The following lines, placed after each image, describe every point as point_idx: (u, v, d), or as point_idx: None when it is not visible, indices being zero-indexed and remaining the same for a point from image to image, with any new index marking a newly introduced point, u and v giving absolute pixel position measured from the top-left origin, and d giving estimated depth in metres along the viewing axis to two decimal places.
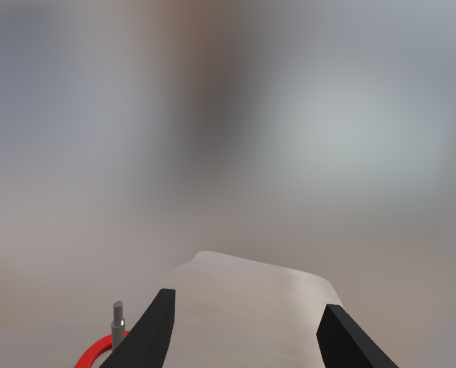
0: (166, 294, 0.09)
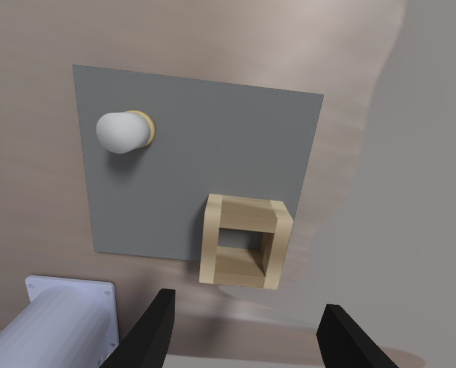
0: (166, 294, 0.09)
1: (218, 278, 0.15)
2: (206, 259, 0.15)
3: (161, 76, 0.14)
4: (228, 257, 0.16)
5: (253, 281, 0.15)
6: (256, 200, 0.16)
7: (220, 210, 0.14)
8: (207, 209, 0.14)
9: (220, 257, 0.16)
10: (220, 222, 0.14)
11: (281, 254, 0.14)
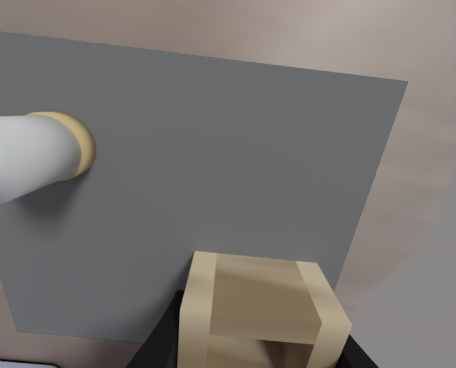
0: (183, 295, 0.09)
1: None
2: None
3: (96, 46, 0.07)
4: (226, 355, 0.10)
5: None
6: (274, 262, 0.09)
7: (211, 302, 0.07)
8: (186, 301, 0.07)
9: (213, 355, 0.10)
10: (211, 327, 0.07)
11: None
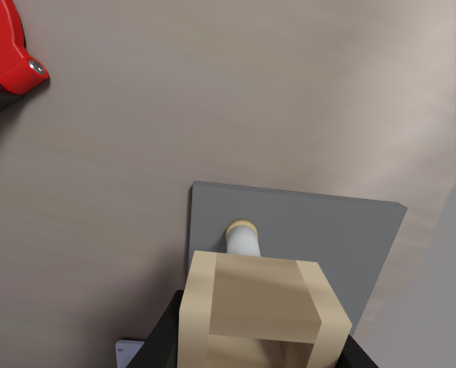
0: None
1: None
2: None
3: (268, 194, 0.16)
4: (226, 354, 0.10)
5: None
6: (274, 261, 0.09)
7: (210, 301, 0.07)
8: (185, 300, 0.07)
9: (213, 354, 0.10)
10: (210, 327, 0.07)
11: None
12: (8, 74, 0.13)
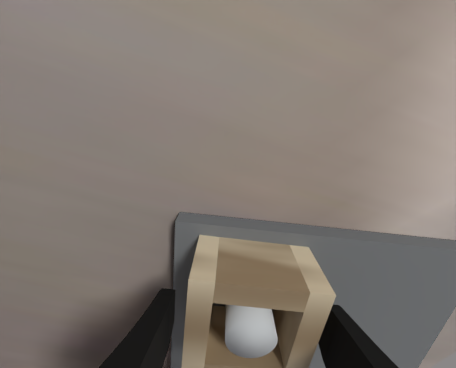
0: (167, 294, 0.09)
1: None
2: (191, 347, 0.09)
3: (286, 234, 0.11)
4: None
5: None
6: (270, 245, 0.11)
7: (214, 274, 0.08)
8: (193, 273, 0.08)
9: (215, 328, 0.11)
10: (214, 296, 0.08)
11: (312, 342, 0.09)
12: None
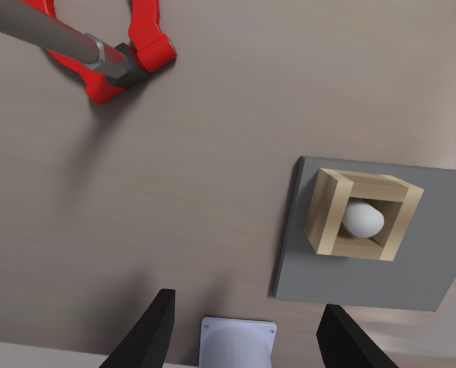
0: (167, 294, 0.09)
1: (337, 249, 0.15)
2: (329, 230, 0.15)
3: (377, 166, 0.16)
4: None
5: (371, 253, 0.15)
6: (367, 173, 0.16)
7: (349, 180, 0.14)
8: (337, 179, 0.14)
9: None
10: (351, 191, 0.14)
11: (405, 224, 0.15)
12: (148, 51, 0.14)
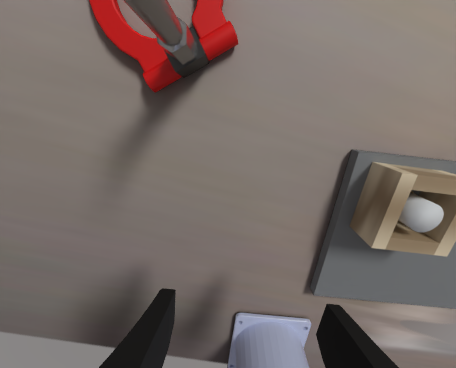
0: (167, 294, 0.09)
1: (392, 243, 0.15)
2: (386, 224, 0.15)
3: (430, 161, 0.16)
4: None
5: (426, 248, 0.15)
6: (421, 168, 0.16)
7: (412, 173, 0.14)
8: (400, 171, 0.14)
9: None
10: (414, 184, 0.14)
11: None
12: (212, 38, 0.13)
